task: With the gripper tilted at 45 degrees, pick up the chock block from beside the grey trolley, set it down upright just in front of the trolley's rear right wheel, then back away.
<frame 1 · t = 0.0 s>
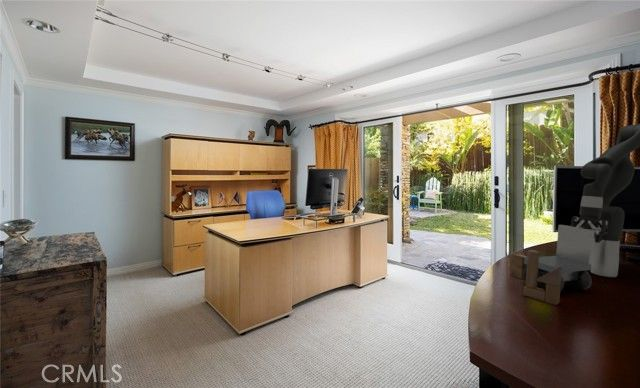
hand: (586, 240, 141), 17 cm above the table, tool pointing down, fingers open, 8 cm apart
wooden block: (540, 299, 114), on the table
chock: (519, 276, 140), on the table
trolley: (555, 287, 127), on the table
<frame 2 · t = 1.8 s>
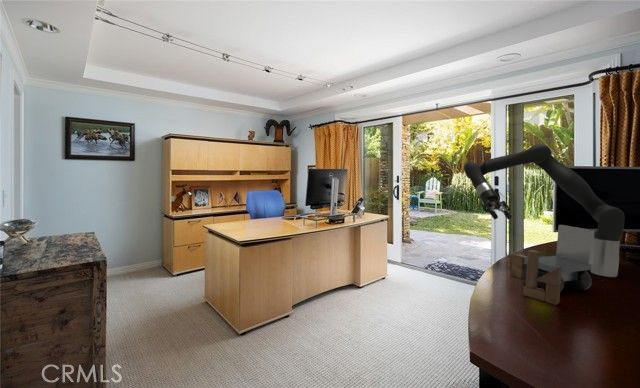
hand: (503, 218, 148), 26 cm above the table, tool tilted 45°, fingers open, 8 cm apart
nothing on the table moved.
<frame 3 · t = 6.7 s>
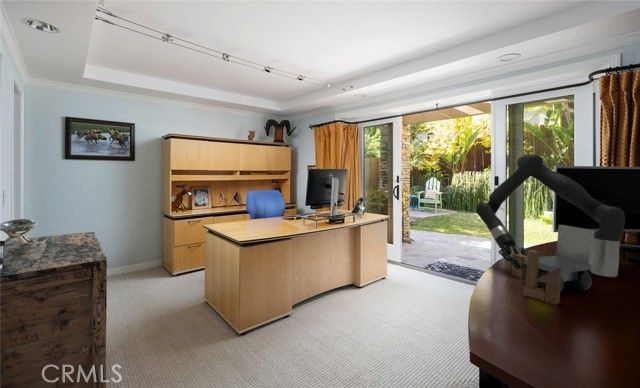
hand: (523, 268, 138), 5 cm above the table, tool tilted 45°, fingers closed on chock, 4 cm apart
chock: (519, 276, 140), on the table, touching gripper
everything else where it was.
when the fingers open (5 cm above the table, at t = 11.4 s): chock stays where it is, on the table.
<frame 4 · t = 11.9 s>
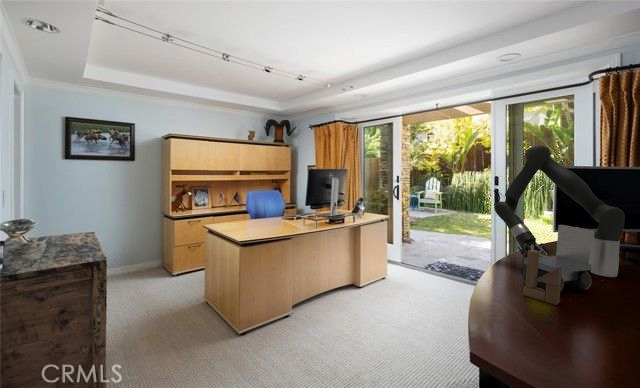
hand: (543, 264, 139), 6 cm above the table, tool tilted 45°, fingers open, 8 cm apart
chock: (540, 276, 141), on the table
everything else where it was.
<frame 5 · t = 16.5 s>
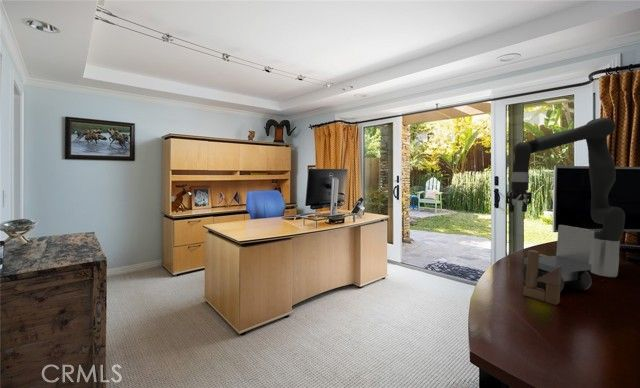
hand: (517, 212, 157), 28 cm above the table, tool pointing down, fingers open, 8 cm apart
nothing on the table moved.
at the end: chock 0.0 cm from the target spot, on the table; chock tilted 0°; the gripper is holding nothing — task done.
